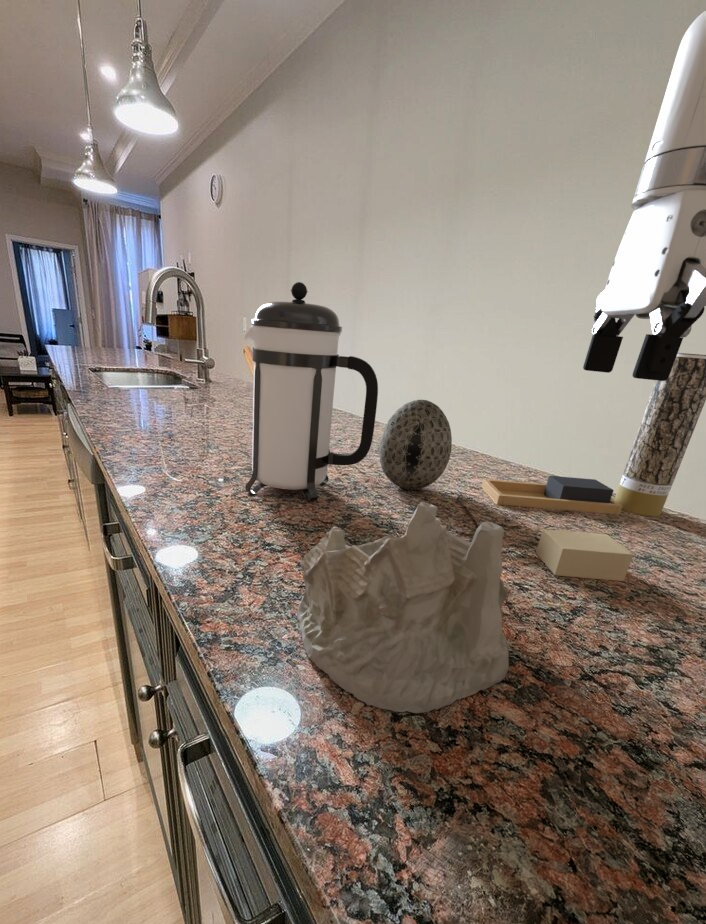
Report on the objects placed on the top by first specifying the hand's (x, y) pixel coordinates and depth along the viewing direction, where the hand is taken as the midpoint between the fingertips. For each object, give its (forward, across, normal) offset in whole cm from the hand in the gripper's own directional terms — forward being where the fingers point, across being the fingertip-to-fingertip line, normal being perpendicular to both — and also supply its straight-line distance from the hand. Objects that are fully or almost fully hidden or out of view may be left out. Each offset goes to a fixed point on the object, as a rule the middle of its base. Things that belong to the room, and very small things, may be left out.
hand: (620, 374), depth 48 cm
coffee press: (+23, +17, +35) cm, 45 cm away
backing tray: (+22, +20, -7) cm, 31 cm away
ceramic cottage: (+23, -20, +23) cm, 38 cm away
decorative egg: (+23, +22, +16) cm, 36 cm away
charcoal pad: (+21, +20, -11) cm, 31 cm away
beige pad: (+22, -3, -1) cm, 22 cm away
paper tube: (+22, +20, -21) cm, 36 cm away
